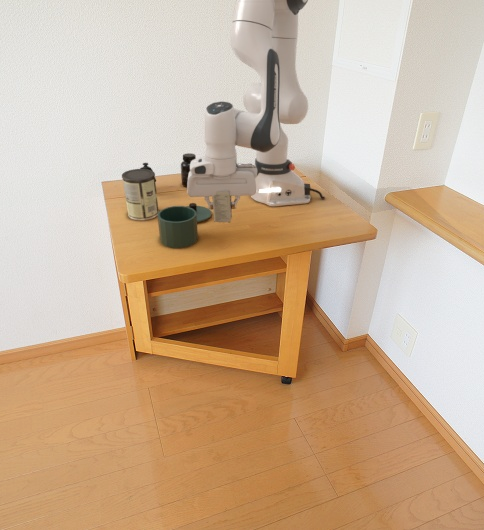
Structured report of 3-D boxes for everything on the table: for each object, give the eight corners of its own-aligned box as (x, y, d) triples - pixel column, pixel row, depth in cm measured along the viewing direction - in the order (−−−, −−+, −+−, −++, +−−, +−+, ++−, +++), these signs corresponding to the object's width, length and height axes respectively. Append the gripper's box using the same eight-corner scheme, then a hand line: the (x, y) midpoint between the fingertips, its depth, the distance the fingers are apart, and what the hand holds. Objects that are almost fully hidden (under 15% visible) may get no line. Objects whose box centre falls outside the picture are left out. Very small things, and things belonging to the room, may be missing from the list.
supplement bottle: (201, 187, 160) (199, 157, 153) (183, 189, 158) (181, 158, 151) (197, 181, 165) (195, 151, 159) (180, 182, 163) (178, 152, 157)
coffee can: (136, 206, 143) (131, 167, 136) (163, 209, 142) (160, 170, 134) (121, 218, 135) (115, 177, 127) (150, 222, 133) (146, 181, 126)
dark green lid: (211, 208, 144) (211, 196, 142) (211, 224, 134) (211, 212, 132) (176, 208, 143) (175, 197, 140) (173, 224, 133) (172, 212, 130)
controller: (152, 185, 160) (149, 160, 154) (158, 197, 150) (156, 171, 145) (141, 186, 158) (138, 161, 153) (147, 199, 149) (144, 172, 143)
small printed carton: (232, 216, 127) (231, 186, 121) (230, 223, 123) (229, 192, 118) (215, 215, 127) (214, 185, 122) (213, 222, 124) (211, 191, 118)
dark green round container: (198, 230, 130) (196, 205, 125) (197, 248, 120) (196, 222, 116) (162, 230, 129) (159, 206, 124) (158, 248, 119) (155, 222, 115)
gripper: (256, 159, 119) (255, 203, 127) (185, 160, 117) (189, 204, 125) (258, 167, 114) (257, 212, 122) (184, 168, 112) (188, 214, 120)
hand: (222, 208), depth 123 cm, fingers closed on small printed carton, 5 cm apart
